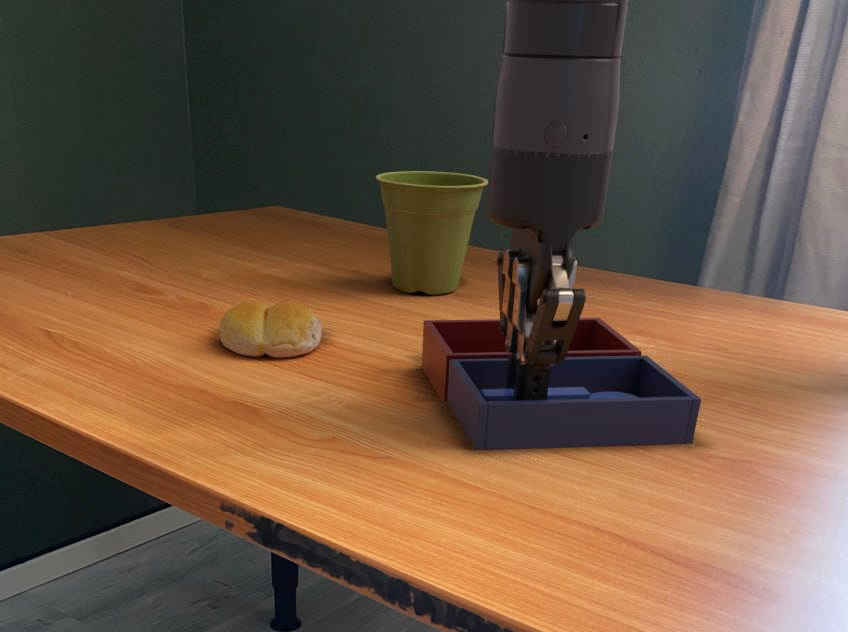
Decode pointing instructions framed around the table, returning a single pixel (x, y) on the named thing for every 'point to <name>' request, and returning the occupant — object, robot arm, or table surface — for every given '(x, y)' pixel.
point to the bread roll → (270, 329)
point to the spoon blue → (554, 394)
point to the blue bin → (575, 405)
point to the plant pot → (429, 227)
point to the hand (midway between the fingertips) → (523, 411)
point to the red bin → (487, 343)
